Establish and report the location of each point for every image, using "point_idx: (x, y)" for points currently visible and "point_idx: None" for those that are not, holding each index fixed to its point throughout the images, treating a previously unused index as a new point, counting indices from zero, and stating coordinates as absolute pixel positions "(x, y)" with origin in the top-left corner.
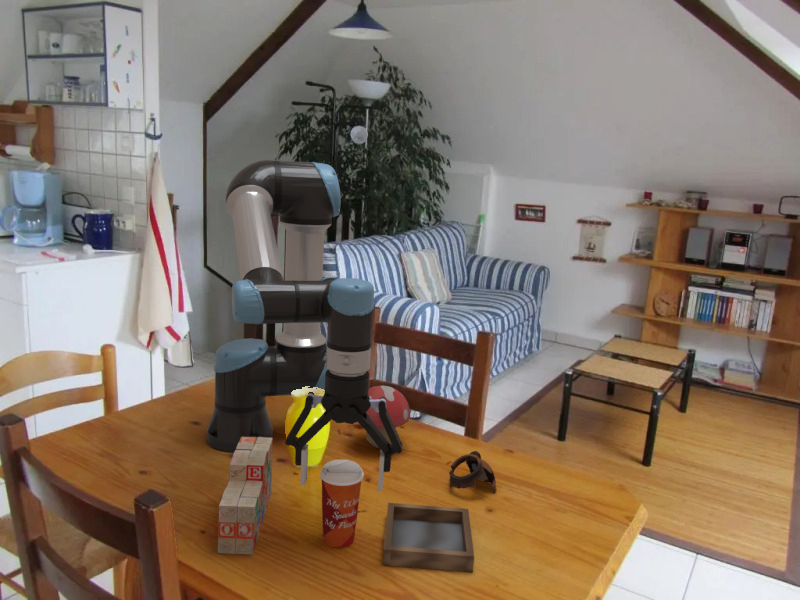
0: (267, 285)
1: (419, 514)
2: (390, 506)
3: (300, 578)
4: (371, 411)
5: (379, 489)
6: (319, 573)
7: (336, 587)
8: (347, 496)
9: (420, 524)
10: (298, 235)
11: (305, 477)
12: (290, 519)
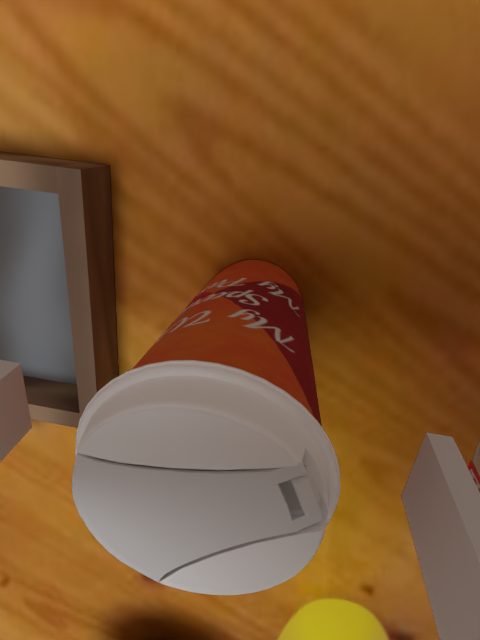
0: None
1: None
2: None
3: (394, 70)
4: None
5: (6, 366)
6: (320, 107)
7: (259, 14)
8: (181, 336)
9: (23, 360)
10: None
11: (430, 480)
12: (400, 406)
